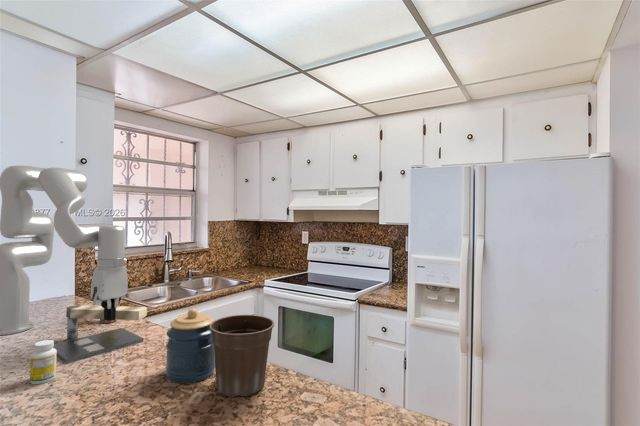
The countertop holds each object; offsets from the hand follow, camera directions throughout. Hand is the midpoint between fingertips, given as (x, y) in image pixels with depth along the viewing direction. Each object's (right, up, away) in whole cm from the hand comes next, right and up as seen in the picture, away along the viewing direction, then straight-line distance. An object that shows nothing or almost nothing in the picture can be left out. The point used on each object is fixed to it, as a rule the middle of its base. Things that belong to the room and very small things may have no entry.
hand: (109, 319), depth 112 cm
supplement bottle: (-4, -9, -23) cm, 24 cm away
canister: (+33, -10, -17) cm, 38 cm away
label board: (-6, -8, +2) cm, 11 cm away
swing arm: (-4, 0, +5) cm, 6 cm away
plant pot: (+48, -10, -23) cm, 54 cm away
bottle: (-15, -8, +24) cm, 30 cm away
